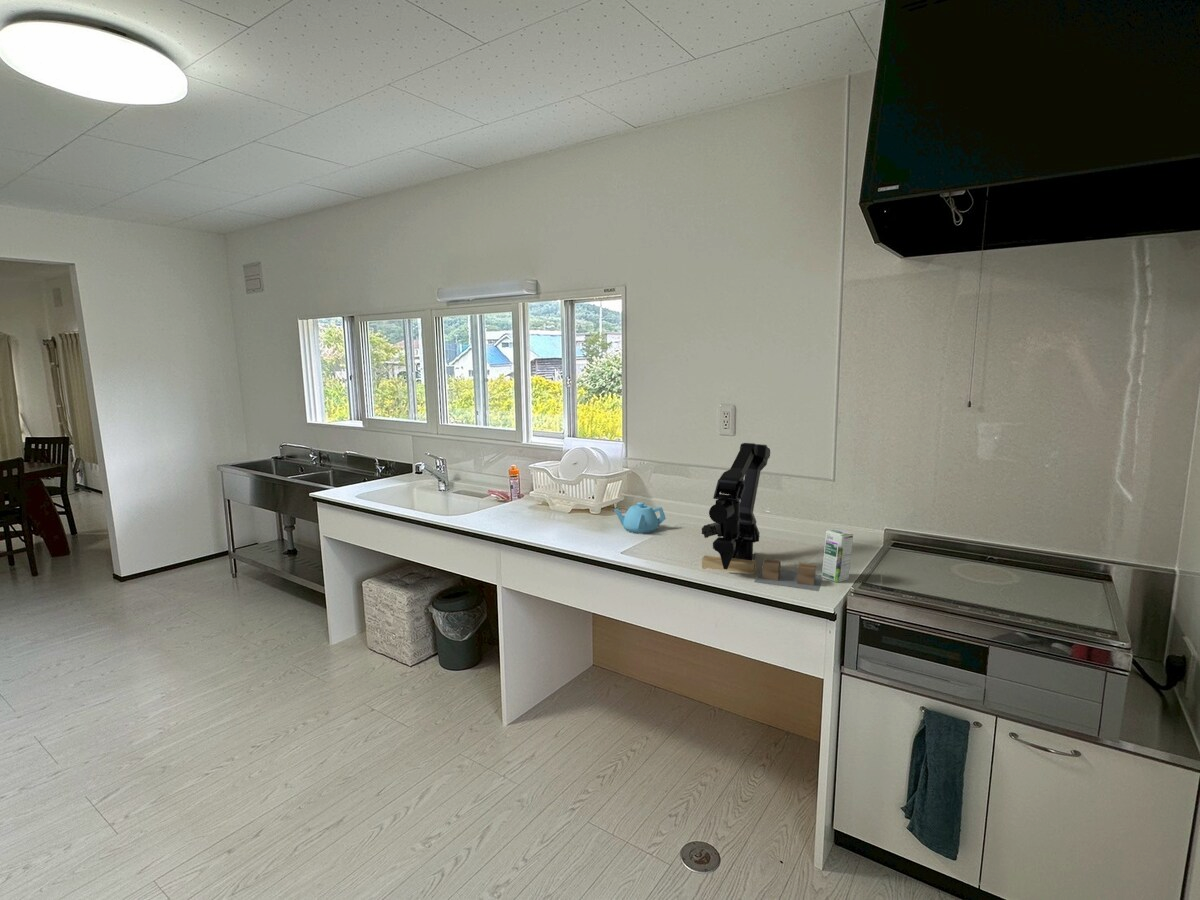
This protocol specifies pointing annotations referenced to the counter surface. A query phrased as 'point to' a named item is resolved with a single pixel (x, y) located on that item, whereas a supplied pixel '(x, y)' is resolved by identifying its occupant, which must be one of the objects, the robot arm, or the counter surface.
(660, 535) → the counter surface
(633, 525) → the teapot
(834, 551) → the syrup box
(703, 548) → the counter surface
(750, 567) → the plank
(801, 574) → the block
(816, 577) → the mat
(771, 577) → the block
